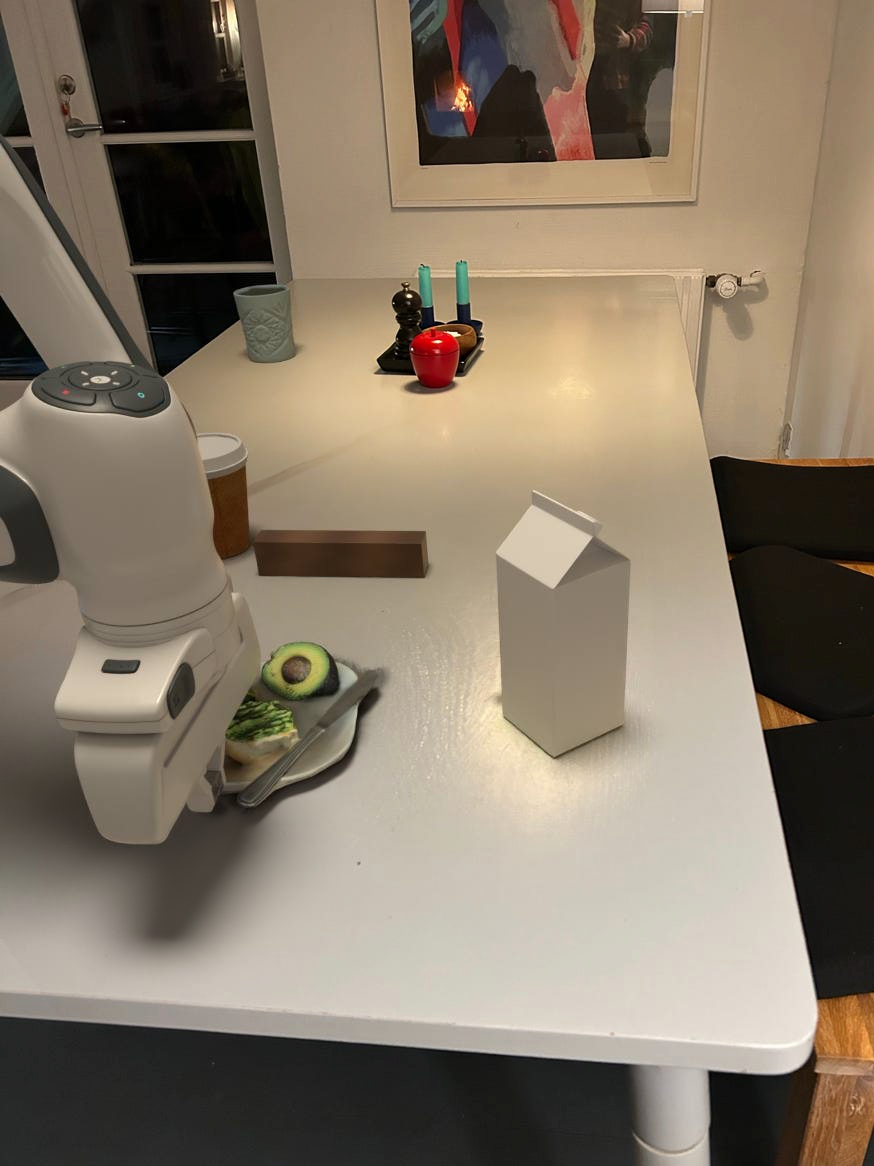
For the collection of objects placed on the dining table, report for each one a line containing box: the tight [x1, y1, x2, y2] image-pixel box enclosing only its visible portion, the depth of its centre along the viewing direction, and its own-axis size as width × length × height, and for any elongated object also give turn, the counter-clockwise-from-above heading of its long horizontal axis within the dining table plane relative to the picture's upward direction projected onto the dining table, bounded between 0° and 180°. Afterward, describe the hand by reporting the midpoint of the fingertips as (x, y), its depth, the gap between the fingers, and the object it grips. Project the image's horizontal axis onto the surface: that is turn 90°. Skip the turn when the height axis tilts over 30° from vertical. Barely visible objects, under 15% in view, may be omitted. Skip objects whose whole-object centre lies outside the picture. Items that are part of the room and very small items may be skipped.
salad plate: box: [219, 641, 380, 809], centre depth 75 cm, size 19×18×5 cm
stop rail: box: [252, 529, 430, 578], centre depth 101 cm, size 18×3×4 cm, turn 84°
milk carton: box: [495, 490, 631, 758], centre depth 72 cm, size 7×7×19 cm
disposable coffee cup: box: [196, 432, 251, 559], centre depth 105 cm, size 10×10×12 cm
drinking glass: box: [233, 284, 296, 364], centre depth 174 cm, size 10×10×12 cm
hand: (208, 798), depth 67 cm, fingers closed
